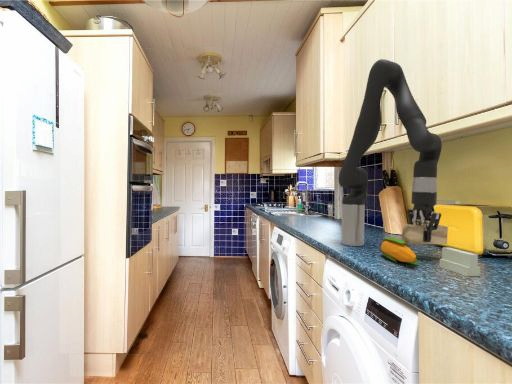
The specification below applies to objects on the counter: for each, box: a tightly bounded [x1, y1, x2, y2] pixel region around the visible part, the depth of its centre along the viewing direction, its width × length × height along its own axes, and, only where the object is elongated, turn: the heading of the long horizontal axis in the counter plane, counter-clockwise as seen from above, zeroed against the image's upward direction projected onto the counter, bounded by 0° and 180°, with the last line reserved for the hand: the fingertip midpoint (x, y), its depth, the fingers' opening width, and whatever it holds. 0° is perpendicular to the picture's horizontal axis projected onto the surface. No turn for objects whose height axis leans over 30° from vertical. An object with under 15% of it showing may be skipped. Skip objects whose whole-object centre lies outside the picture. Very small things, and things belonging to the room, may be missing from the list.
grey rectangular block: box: [439, 247, 481, 277], centre depth 87 cm, size 10×4×6 cm, turn 9°
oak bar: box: [401, 224, 449, 245], centre depth 102 cm, size 4×14×6 cm, turn 97°
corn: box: [380, 237, 419, 265], centre depth 98 cm, size 7×8×20 cm
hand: (421, 240), depth 102 cm, fingers closed on oak bar, 4 cm apart
